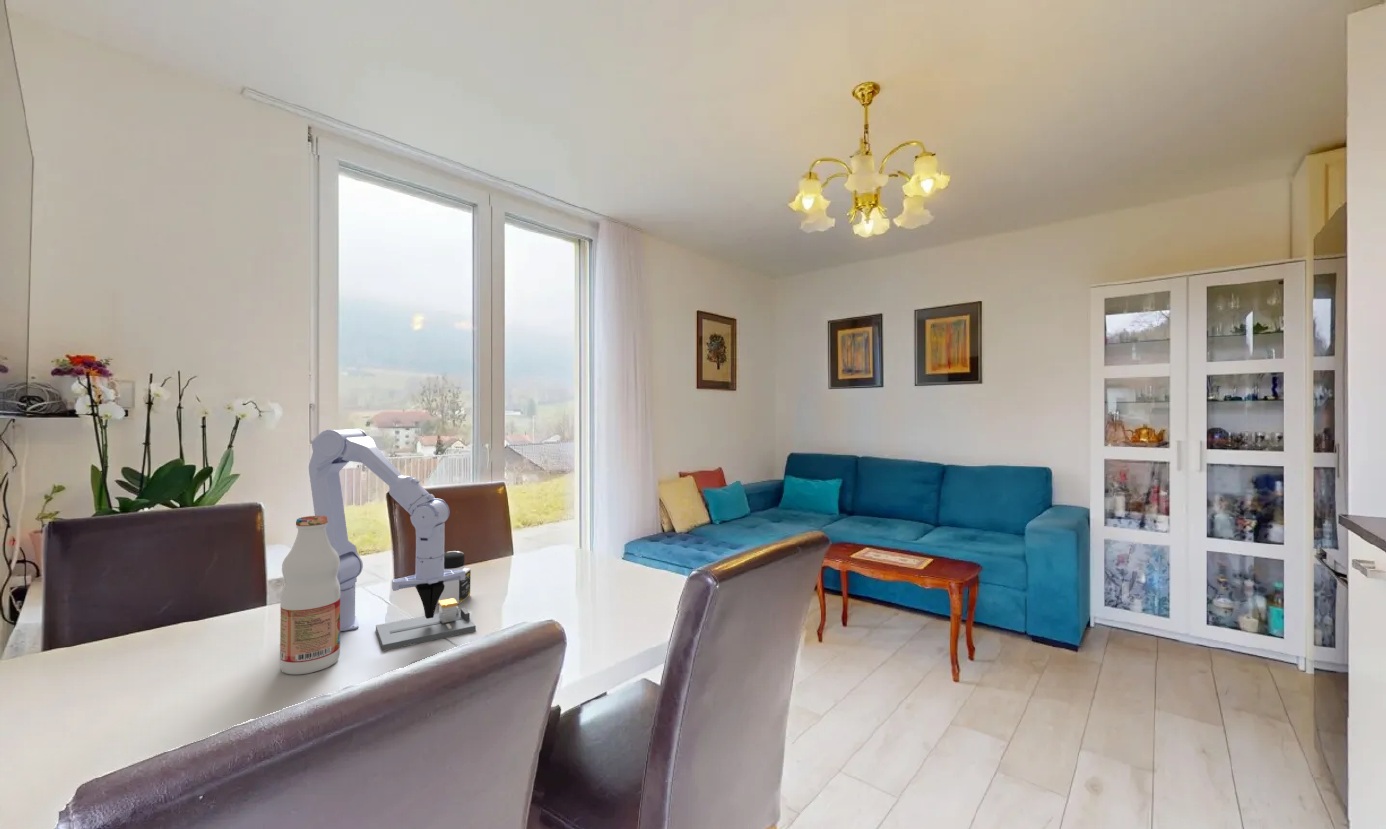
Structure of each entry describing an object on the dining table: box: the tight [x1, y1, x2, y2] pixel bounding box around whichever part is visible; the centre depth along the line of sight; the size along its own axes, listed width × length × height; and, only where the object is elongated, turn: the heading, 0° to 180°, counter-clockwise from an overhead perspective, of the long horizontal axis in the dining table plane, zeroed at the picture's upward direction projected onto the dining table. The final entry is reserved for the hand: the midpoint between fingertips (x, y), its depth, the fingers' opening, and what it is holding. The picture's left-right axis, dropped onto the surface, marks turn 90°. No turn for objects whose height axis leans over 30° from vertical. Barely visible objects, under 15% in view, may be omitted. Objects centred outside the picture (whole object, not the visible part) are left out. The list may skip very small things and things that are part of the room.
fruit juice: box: [279, 515, 341, 676], centre depth 105 cm, size 9×9×28 cm
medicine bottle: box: [437, 550, 472, 605], centre depth 142 cm, size 7×7×12 cm
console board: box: [375, 605, 477, 651], centre depth 122 cm, size 18×12×3 cm, turn 126°
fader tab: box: [438, 598, 458, 623], centre depth 124 cm, size 3×4×4 cm
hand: (429, 616), depth 122 cm, fingers closed
